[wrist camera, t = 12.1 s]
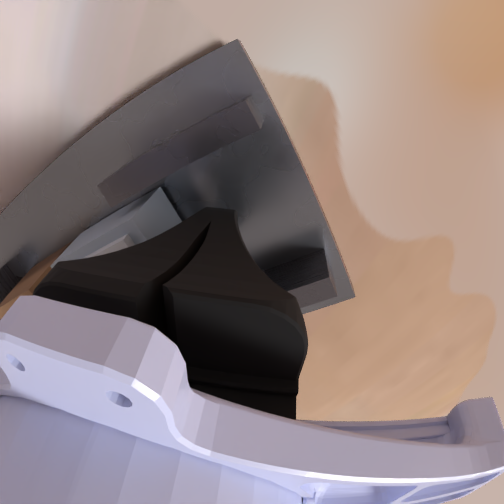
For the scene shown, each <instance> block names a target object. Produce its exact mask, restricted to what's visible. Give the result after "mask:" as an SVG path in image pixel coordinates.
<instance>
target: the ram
mask: <svg viewBox="0 0 504 504" xmlns="http://www.w3.org/2000/svg"><path fill="white" fill-rule="evenodd" d="M181 222H182V220H181V219H180V217H179V216H178V214H177V213H176V211H175V209H174V208H173V206H172V205H171V203H170V201H169V200H168V198H167V196H166V195H165V193H164V192H163V190H162V188H161V187H159V188H157V189H155V190H153V191H151V192H149V193H148V194H146V195H144V196H142V197H141V198H139V199H137V200H135V201H133V202H132V203H130V204H128V205H127V206H125V207H123V208H121V209H120V210H118V211H116V212H115V213H113V214H111V215H110V216H108V217H106V218H105V219H103V220H101V221H100V222H98V223H96V224H95V225H93V226H91V227H90V228H88V229H87V230H85V231H83V232H82V233H81V234H80V235H79V236H78V237H77V238H76V239H75V240H74V241H73V242H72V243H71V244H70V245H69V246H68V247H67V248H66V249H65V250H64V252H63V253H62V254H61V255H60V256H59V257H58V258H57V259H56V260H55V261H54V262H53V264H52V265H51V266H50V267H51V268H53V267H54V266H55V265H56V263H57V262H59V261H68V260H76V259H83V258H89V257H94V256H99V255H103V254H107V253H111V252H115V251H118V250H121V249H124V248H127V247H130V246H133V245H136V244H139V243H142V242H144V241H146V240H149V239H151V238H153V237H155V236H157V235H159V234H161V233H163V232H165V231H167V230H169V229H170V228H172V227H174V226H176V225H178V224H179V223H181Z"/></svg>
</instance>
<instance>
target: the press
mask: <svg viewBox="0 0 504 504" xmlns="http://www.w3.org/2000/svg"><path fill="white" fill-rule="evenodd" d="M159 187H161V188H162V190H163V192H164V193H165V195H166V196H167V198H168V200H169V201H170V203H171V205H172V206H173V208H174V209H175V211H176V213H177V214H178V216H179V217H180V219H181V220H182V221H184V220H186V219H187V218H189V217H190V216H192V215H194V214H195V213H197V212H198V211H200V210H201V209H203V208H205V207H214V208H223V209H232V210H236V211H237V212H238V226H239V230H240V233H241V236H242V239H243V241H244V243H245V245H246V248H247V250H248V251H249V253H250V255H251V256H252V258H253V260H254V261H255V262H256V264H257V265H258V266H259V268H260V269H261V270H262V271H263V272H264V273H265V274H266V275H267V276H268V277H269V278H270V279H271V280H272V281H273V282H275V283H276V284H277V285H278V286H280V287H281V288H283V289H284V290H286V291H287V292H289V293H290V294H292V295H293V296H295V297H296V298H297V301H298V303H299V306H300V309H301V312H302V314H305V313H308V312H311V311H314V310H318V309H321V308H324V307H327V306H330V305H333V304H336V303H339V302H342V301H345V300H348V299H351V298H354V297H355V293H354V289H353V285H352V283H351V280H350V277H349V275H348V272H347V269H346V267H345V264H344V262H343V259H342V256H341V254H340V251H339V249H338V246H337V244H336V241H335V239H334V236H333V234H332V231H331V229H330V226H329V224H328V221H327V219H326V217H325V214H324V212H323V209H322V207H321V205H320V202H319V200H318V198H317V195H316V193H315V191H314V188H313V186H312V184H311V182H310V179H309V177H308V175H307V173H306V170H305V168H304V166H303V164H302V161H301V159H300V157H299V155H298V153H297V151H296V148H295V146H294V144H293V142H292V140H291V138H290V136H289V134H288V132H287V130H286V127H285V125H284V123H283V121H282V119H281V117H280V115H279V113H278V111H277V109H276V107H275V105H274V103H273V101H272V99H271V97H270V95H269V93H268V91H267V89H266V87H265V86H264V84H263V82H262V80H261V78H260V76H259V74H258V72H257V70H256V69H255V67H254V65H253V63H252V61H251V59H250V57H249V56H248V54H247V52H246V50H245V48H244V47H243V45H242V43H241V41H240V40H238V39H236V40H234V41H232V42H230V43H228V44H226V45H224V46H222V47H220V48H218V49H216V50H214V51H212V52H210V53H208V54H206V55H205V56H203V57H201V58H199V59H197V60H195V61H194V62H192V63H190V64H188V65H187V66H185V67H183V68H181V69H180V70H178V71H176V72H175V73H173V74H171V75H170V76H168V77H166V78H165V79H163V80H161V81H160V82H158V83H157V84H155V85H153V86H152V87H150V88H149V89H147V90H146V91H144V92H143V93H141V94H140V95H138V96H137V97H135V98H134V99H132V100H131V101H129V102H128V103H127V104H125V105H124V106H122V107H121V108H119V109H118V110H117V111H115V112H114V113H113V114H111V115H110V116H108V117H107V118H106V119H104V120H103V121H102V122H100V123H99V124H98V125H97V126H95V127H94V128H93V129H91V130H90V131H89V132H88V133H86V134H85V135H84V136H83V137H81V138H80V139H79V140H78V141H77V142H75V143H74V144H73V145H72V146H71V147H69V148H68V149H67V150H66V151H65V152H64V153H62V154H61V155H60V156H59V157H58V158H57V159H56V160H54V161H53V162H52V163H51V164H50V165H49V166H48V167H47V168H46V169H45V170H43V171H42V172H41V173H40V174H39V175H38V176H37V177H36V178H35V179H34V180H33V181H32V182H31V183H30V184H29V185H28V186H27V187H26V188H25V189H24V190H23V191H22V192H21V193H20V194H19V195H18V196H17V197H16V198H15V199H14V200H13V201H12V202H11V203H10V204H9V205H8V206H7V207H6V209H5V210H4V211H3V212H2V213H1V214H0V304H1V302H2V301H3V300H4V299H5V298H6V296H7V295H8V294H9V293H10V292H11V291H12V289H13V288H14V287H15V286H16V285H17V284H18V283H19V281H20V280H21V279H22V278H23V277H24V276H25V275H26V274H27V273H28V272H29V270H30V269H31V268H32V267H34V266H35V265H37V264H38V263H40V262H41V261H43V260H44V259H45V258H47V257H48V256H50V255H51V254H53V253H54V252H56V251H58V250H59V249H61V248H62V247H64V246H65V245H67V244H68V243H70V242H71V241H74V240H75V239H76V238H77V237H78V236H79V235H80V234H81V233H82V232H83V231H85V230H87V229H88V228H90V227H91V226H93V225H95V224H96V223H98V222H100V221H101V220H103V219H105V218H106V217H108V216H110V215H111V214H113V213H115V212H116V211H118V210H120V209H121V208H123V207H125V206H127V205H128V204H130V203H132V202H133V201H135V200H137V199H139V198H141V197H142V196H144V195H146V194H148V193H149V192H151V191H153V190H155V189H157V188H159ZM0 320H1V319H0Z"/></svg>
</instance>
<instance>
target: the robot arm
mask: <svg viewBox="0 0 504 504" xmlns="http://www.w3.org/2000/svg"><path fill="white" fill-rule="evenodd" d="M307 349H308V337H307V331H306V326H305V322H304V318H303V315H302V312H301V309H300V306H299V303H298V301H297V298H296V297H295V296H293V295H292V294H290V293H289V292H287V291H286V290H284V289H283V288H281V287H280V286H278V285H277V284H276V283H275V282H273V281H272V280H271V279H270V278H269V277H268V276H267V275H266V274H265V273H264V272H263V271H262V270H261V269H260V268H259V266H258V265H257V264H256V262H255V261H254V260H253V258H252V256H251V255H250V253H249V251H248V250H247V248H246V245H245V243H244V241H243V239H242V236H241V233H240V230H239V226H238V212H237V211H236V210H232V209H223V208H214V207H205V208H203V209H201V210H200V211H198V212H197V213H195V214H194V215H192V216H190V217H189V218H187V219H186V220H184V221H182V222H181V223H179V224H178V225H176V226H174V227H172V228H170V229H169V230H167V231H165V232H163V233H161V234H159V235H157V236H155V237H153V238H151V239H149V240H146V241H144V242H142V243H139V244H136V245H133V246H130V247H127V248H124V249H121V250H118V251H115V252H111V253H107V254H103V255H99V256H94V257H89V258H83V259H76V260H68V261H59V262H57V263H56V265H55V266H54V267H53V268H52V269H51V270H50V271H49V273H48V274H47V275H46V276H45V277H44V278H43V280H42V281H41V282H40V283H39V284H38V285H37V287H36V288H35V289H34V292H33V295H32V296H19V298H18V299H17V300H16V301H15V303H14V304H13V305H12V306H11V307H10V309H9V310H8V311H7V312H6V314H5V315H4V316H3V318H2V319H1V320H0V504H440V503H445V502H448V501H452V500H455V499H458V498H462V497H464V496H466V495H468V494H470V493H471V492H473V491H475V490H476V489H478V488H480V487H481V486H483V485H485V484H486V483H488V482H489V481H491V480H493V479H494V478H496V477H497V476H499V475H500V474H502V473H503V472H504V429H503V426H502V422H501V420H500V417H499V414H498V411H497V408H496V405H495V403H494V400H493V398H492V397H486V398H478V399H470V400H466V401H463V402H461V403H459V404H457V405H456V406H455V407H454V408H453V409H452V410H451V411H450V413H449V414H448V416H445V417H436V418H425V419H412V420H396V421H361V422H347V421H312V420H296V396H297V394H298V378H299V375H300V372H301V370H302V367H303V364H304V361H305V358H306V355H307Z"/></svg>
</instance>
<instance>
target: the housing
mask: <svg viewBox="0 0 504 504" xmlns="http://www.w3.org/2000/svg"><path fill="white" fill-rule="evenodd" d="M72 242H73V241H71V242H70V243H68V244H67V245H65V246H64V247H62V248H61V249H59V250H58V251H56V252H54V253H53V254H51V255H50V256H48V257H47V258H45V259H44V260H43V261H41V262H40V263H38V264H37V265H35V266H34V267H32V268H31V269H30V270H29V272H28V273H27V274H26V275H25V276H24V277H23V278H22V279H21V280H20V281H19V283H18V284H17V285H16V286H15V287H14V288H13V289H12V291H11V292H10V293H9V294H8V295H7V296H6V298H5V299H4V300H3V301H2V302H1V304H0V319H2V318H3V316H4V315H5V314H6V312H7V311H8V310H9V309H10V307H11V306H12V305H13V304H14V303H15V301H16V300H17V299H18V298H19V296H32V295H33V292H34V289H35V288H36V287H37V285H38V284H39V283H40V282H41V281H42V280H43V278H44V277H45V276H46V275H47V274H48V273H49V271H50V270H51V269H52V268H51V267H50V266H51V265H52V264H53V262H54V261H55V260H56V259H57V258H58V257H59V256H60V255H61V254H62V253H63V252H64V250H65V249H66V248H67V247H68V246H69V245H70V244H71V243H72Z"/></svg>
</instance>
